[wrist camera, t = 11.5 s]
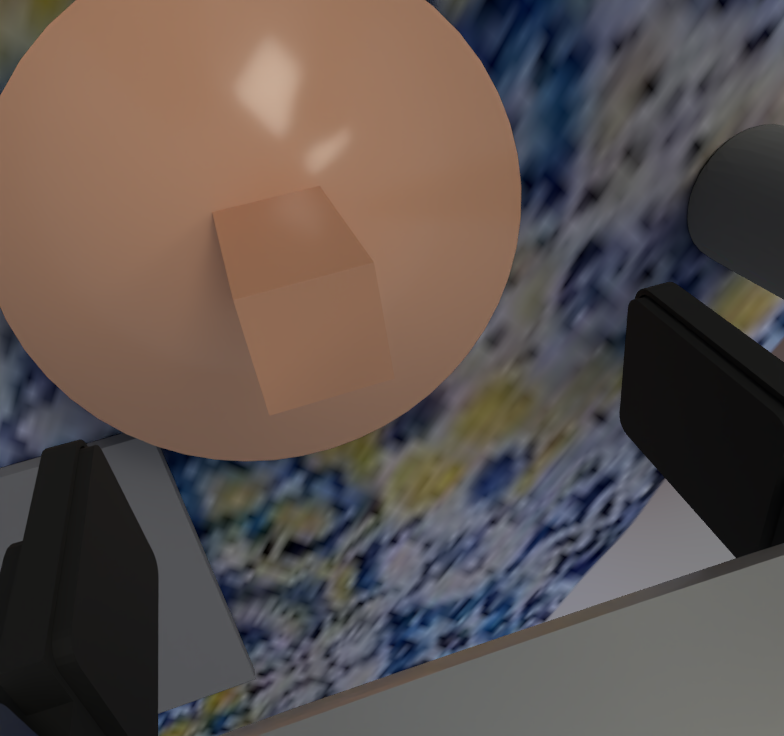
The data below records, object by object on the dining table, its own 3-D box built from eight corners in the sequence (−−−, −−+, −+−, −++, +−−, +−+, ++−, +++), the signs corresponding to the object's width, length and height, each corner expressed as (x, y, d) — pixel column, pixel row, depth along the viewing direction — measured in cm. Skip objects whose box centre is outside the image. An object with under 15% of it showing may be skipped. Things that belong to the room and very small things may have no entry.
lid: (-144, 5, 16) (-305, 38, 10) (491, -111, 19) (643, -134, 13) (111, 498, 25) (101, 662, 19) (518, 373, 28) (616, 486, 22)
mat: (-317, 558, 24) (-327, 571, 23) (150, 425, 27) (150, 434, 26) (-79, 786, 33) (-83, 799, 32) (254, 668, 35) (255, 679, 35)
